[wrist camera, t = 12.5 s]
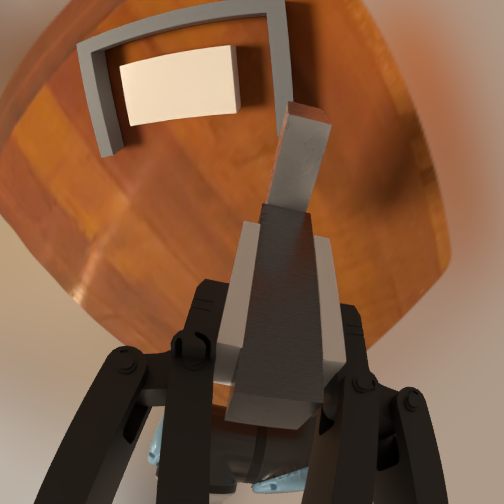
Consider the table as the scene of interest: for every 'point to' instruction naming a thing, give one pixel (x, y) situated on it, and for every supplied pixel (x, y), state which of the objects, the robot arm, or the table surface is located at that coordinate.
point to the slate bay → (235, 7)
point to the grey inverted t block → (284, 289)
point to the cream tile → (182, 85)
